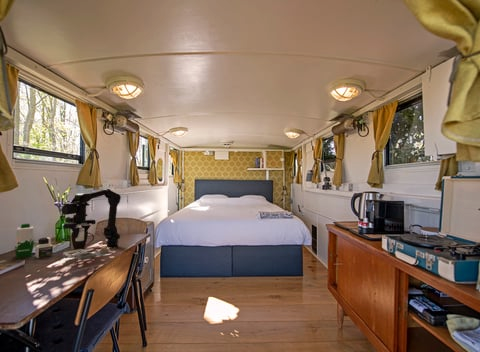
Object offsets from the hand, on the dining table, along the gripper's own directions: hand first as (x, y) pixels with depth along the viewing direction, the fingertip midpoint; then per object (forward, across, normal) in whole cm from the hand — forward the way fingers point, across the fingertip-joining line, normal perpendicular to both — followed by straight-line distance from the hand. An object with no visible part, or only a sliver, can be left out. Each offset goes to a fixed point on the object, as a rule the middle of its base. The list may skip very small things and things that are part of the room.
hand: (79, 237), depth 152 cm
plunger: (+11, -9, +11) cm, 18 cm away
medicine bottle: (+13, +7, -20) cm, 25 cm away
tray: (+12, -1, -4) cm, 13 cm away
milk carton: (+13, +9, -34) cm, 37 cm away
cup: (+13, -16, -14) cm, 25 cm away
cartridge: (+2, 0, 0) cm, 2 cm away
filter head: (+12, -3, +9) cm, 15 cm away
